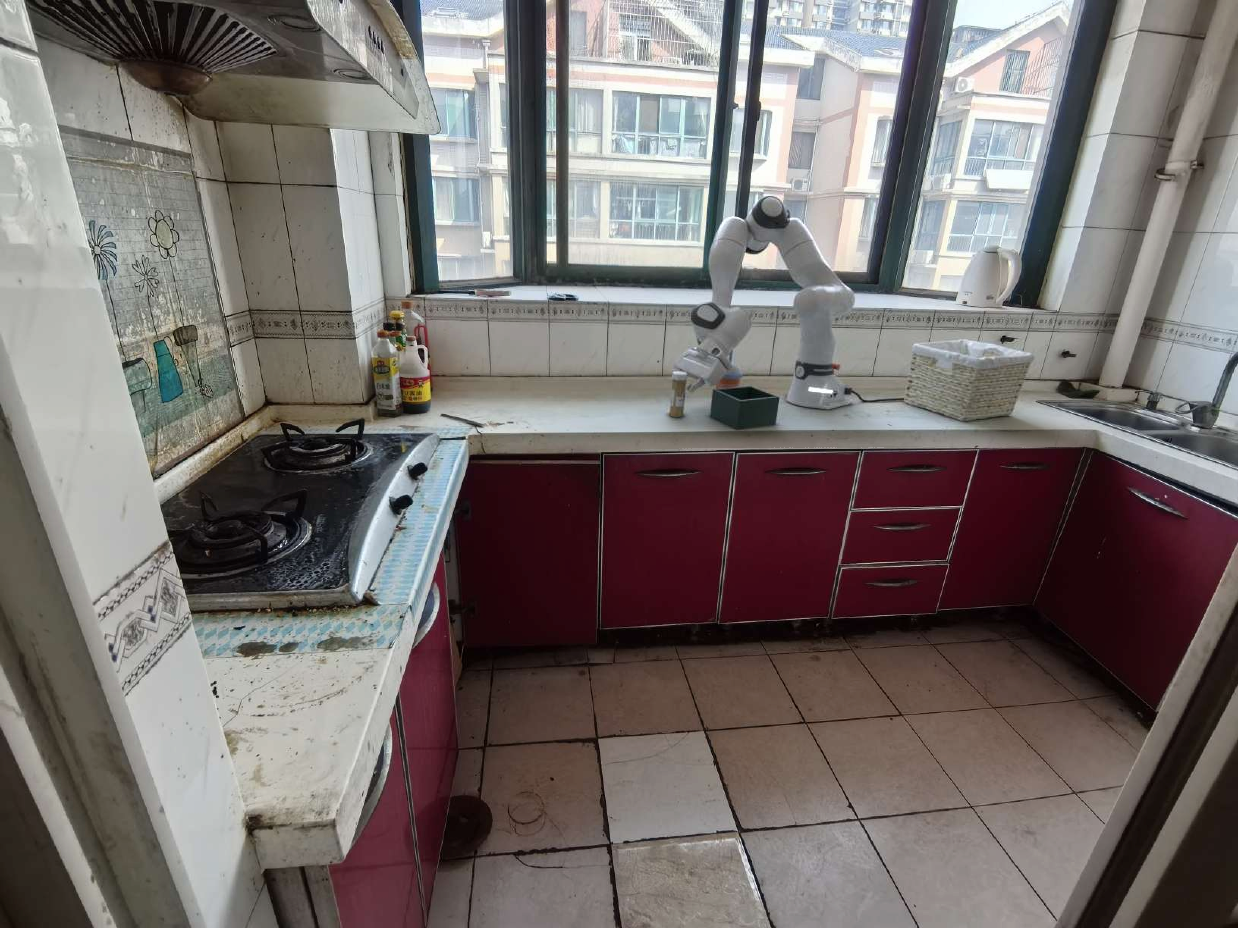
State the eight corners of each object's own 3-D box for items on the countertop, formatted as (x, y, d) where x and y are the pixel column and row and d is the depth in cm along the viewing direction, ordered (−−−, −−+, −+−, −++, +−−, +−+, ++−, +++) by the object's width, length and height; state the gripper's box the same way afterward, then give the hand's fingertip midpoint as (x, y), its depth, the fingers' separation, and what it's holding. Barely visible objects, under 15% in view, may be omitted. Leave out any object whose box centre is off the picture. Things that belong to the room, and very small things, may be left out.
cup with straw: (738, 408, 193) (745, 353, 186) (710, 405, 194) (716, 351, 187) (739, 401, 201) (745, 348, 194) (712, 398, 203) (717, 346, 196)
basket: (963, 425, 187) (982, 356, 179) (895, 401, 209) (910, 340, 201) (1019, 417, 197) (1039, 352, 189) (948, 396, 220) (964, 337, 212)
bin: (747, 411, 190) (750, 385, 187) (775, 424, 179) (779, 396, 175) (709, 416, 184) (712, 389, 180) (736, 429, 172) (740, 401, 169)
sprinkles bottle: (681, 418, 180) (685, 375, 175) (667, 416, 181) (670, 373, 176) (684, 414, 184) (688, 371, 179) (670, 412, 185) (674, 370, 180)
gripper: (687, 340, 188) (658, 372, 187) (725, 353, 171) (693, 388, 170) (697, 353, 191) (669, 385, 191) (736, 367, 174) (704, 402, 174)
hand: (681, 387), depth 180 cm, fingers open, 8 cm apart
